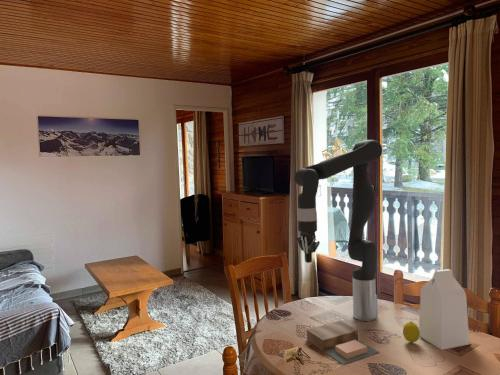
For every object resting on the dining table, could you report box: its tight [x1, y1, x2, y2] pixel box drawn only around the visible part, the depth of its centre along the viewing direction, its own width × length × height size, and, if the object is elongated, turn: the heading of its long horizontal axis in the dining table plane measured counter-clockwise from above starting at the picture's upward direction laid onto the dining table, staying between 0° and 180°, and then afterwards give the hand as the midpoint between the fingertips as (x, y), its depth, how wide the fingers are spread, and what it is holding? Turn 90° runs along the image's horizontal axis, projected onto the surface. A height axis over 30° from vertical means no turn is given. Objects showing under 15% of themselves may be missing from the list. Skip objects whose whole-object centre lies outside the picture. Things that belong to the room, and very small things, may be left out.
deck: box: [306, 320, 359, 352], centre depth 142 cm, size 16×10×4 cm, turn 116°
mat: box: [323, 339, 380, 365], centre depth 133 cm, size 16×10×1 cm, turn 116°
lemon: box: [402, 321, 420, 344], centre depth 138 cm, size 6×6×8 cm
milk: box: [418, 268, 470, 351], centre depth 139 cm, size 12×12×26 cm
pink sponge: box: [335, 340, 367, 359], centre depth 133 cm, size 9×6×2 cm, turn 116°
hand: (308, 262), depth 152 cm, fingers closed
